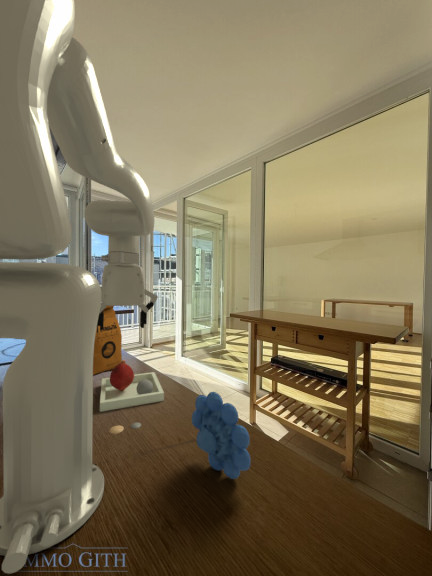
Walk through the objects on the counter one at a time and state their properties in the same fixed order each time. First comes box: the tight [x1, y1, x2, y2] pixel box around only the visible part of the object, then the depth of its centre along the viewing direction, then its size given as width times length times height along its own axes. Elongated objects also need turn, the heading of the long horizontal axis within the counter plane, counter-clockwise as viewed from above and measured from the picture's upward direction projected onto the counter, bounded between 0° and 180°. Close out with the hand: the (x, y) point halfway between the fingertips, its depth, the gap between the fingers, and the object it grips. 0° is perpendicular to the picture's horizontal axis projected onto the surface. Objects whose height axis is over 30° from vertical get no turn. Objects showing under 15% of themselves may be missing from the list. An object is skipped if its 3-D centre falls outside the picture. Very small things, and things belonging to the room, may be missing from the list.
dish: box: [99, 371, 165, 413], centre depth 62 cm, size 14×14×2 cm
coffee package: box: [93, 302, 123, 376], centre depth 78 cm, size 10×12×22 cm
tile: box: [108, 422, 142, 435], centre depth 48 cm, size 6×8×1 cm
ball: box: [136, 379, 153, 395], centre depth 61 cm, size 4×4×4 cm
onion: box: [109, 359, 135, 391], centre depth 63 cm, size 6×6×8 cm
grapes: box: [191, 391, 252, 480], centre depth 38 cm, size 12×7×12 cm, turn 49°
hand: (122, 328), depth 62 cm, fingers open, 9 cm apart
